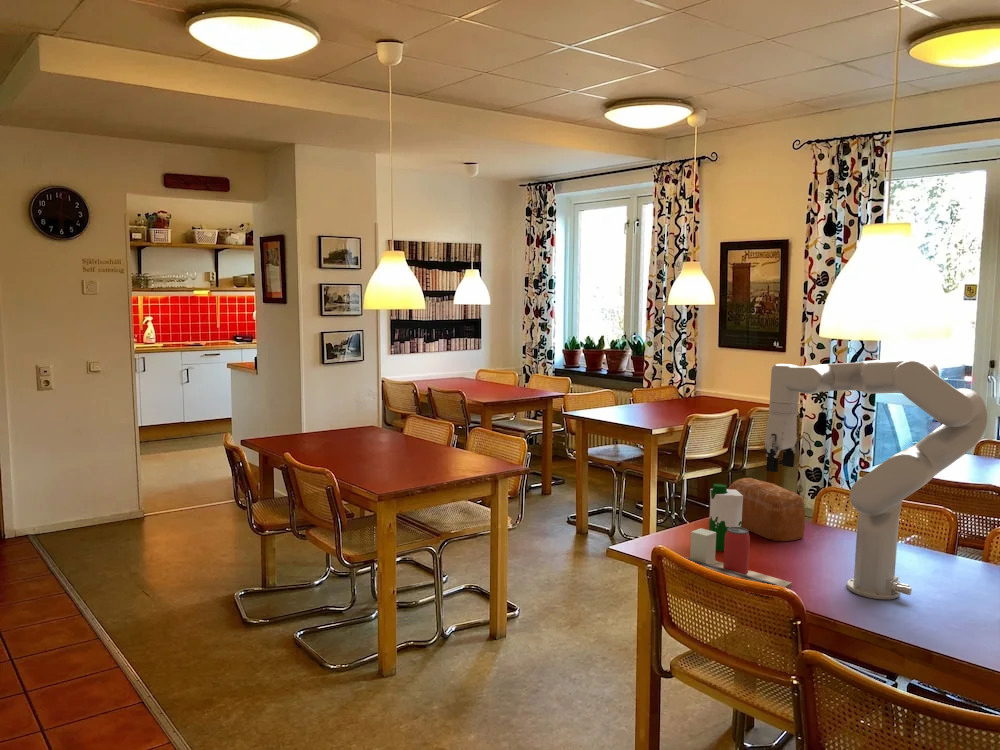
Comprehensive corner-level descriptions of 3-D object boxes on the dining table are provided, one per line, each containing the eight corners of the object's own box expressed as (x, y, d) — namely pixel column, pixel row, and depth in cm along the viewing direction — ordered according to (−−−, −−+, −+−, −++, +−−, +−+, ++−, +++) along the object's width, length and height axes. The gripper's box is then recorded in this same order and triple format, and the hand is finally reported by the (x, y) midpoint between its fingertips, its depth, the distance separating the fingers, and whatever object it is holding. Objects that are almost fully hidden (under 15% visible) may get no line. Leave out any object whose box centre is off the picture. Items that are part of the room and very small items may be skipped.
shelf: (791, 586, 202) (792, 575, 202) (774, 596, 195) (774, 584, 195) (698, 559, 222) (698, 549, 222) (679, 567, 215) (679, 556, 215)
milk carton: (705, 545, 235) (708, 481, 233) (734, 545, 235) (738, 482, 233) (712, 554, 226) (715, 488, 224) (743, 555, 226) (746, 489, 224)
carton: (714, 563, 216) (716, 532, 215) (705, 567, 212) (707, 535, 212) (699, 558, 219) (700, 528, 219) (689, 562, 216) (691, 531, 215)
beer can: (729, 566, 213) (731, 524, 212) (752, 572, 209) (754, 529, 208) (718, 572, 209) (720, 529, 207) (741, 578, 204) (743, 535, 203)
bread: (774, 543, 238) (777, 494, 236) (720, 520, 262) (722, 475, 260) (808, 539, 243) (811, 491, 241) (752, 516, 267) (754, 472, 266)
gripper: (784, 404, 221) (781, 462, 223) (756, 409, 209) (752, 471, 211) (810, 407, 216) (806, 466, 217) (782, 413, 204) (778, 475, 205)
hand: (780, 468), depth 214 cm, fingers open, 9 cm apart
